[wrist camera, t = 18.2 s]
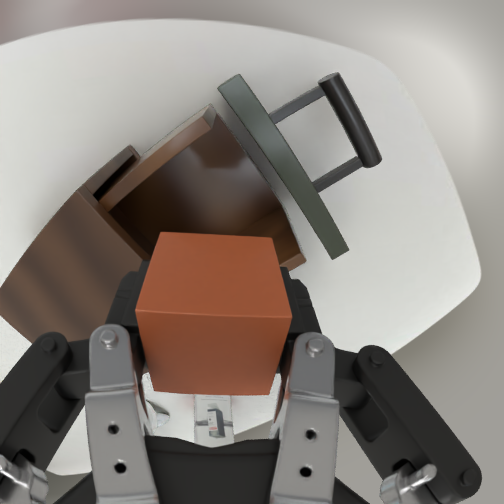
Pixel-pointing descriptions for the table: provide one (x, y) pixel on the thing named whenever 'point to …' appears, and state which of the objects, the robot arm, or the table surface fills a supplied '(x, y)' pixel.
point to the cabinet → (73, 265)
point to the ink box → (213, 420)
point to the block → (213, 314)
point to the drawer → (236, 176)
